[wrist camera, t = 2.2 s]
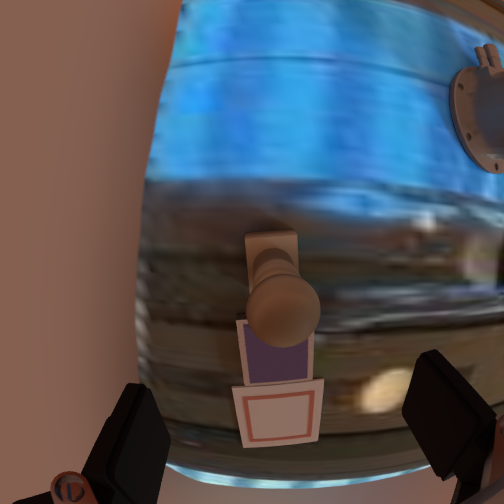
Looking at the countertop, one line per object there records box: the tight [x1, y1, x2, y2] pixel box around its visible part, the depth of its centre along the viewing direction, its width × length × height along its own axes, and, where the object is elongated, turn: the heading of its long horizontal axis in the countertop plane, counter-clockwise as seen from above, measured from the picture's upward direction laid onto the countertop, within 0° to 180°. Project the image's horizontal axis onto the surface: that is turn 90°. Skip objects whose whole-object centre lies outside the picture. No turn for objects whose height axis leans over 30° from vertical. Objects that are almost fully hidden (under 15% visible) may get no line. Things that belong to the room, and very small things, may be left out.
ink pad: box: [236, 314, 314, 386], centre depth 26 cm, size 8×7×2 cm
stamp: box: [245, 229, 320, 347], centre depth 19 cm, size 5×4×12 cm
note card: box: [232, 378, 324, 448], centre depth 29 cm, size 12×10×1 cm
